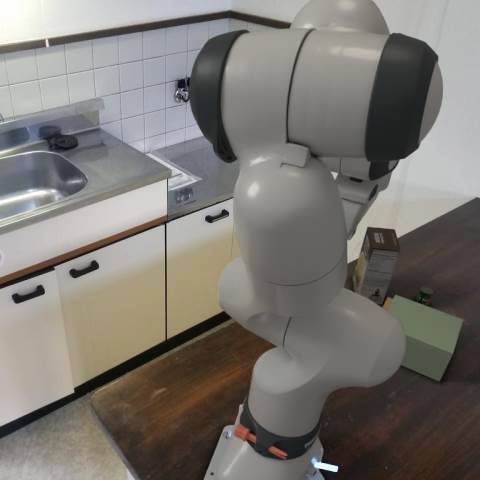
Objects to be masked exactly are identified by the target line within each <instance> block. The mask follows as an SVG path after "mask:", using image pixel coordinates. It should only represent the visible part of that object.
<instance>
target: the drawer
mask: <svg viewBox="0 0 480 480" xmlns="http://www.w3.org/2000/svg"><path fill="white" fill-rule="evenodd" d="M392 300H393V298H392V297H389V296H387V298H386V299H385V302H384V304H383V306H382V308H383V309H385V310H386V311H387V310H388V308H389V306H390V304H391V302H392Z"/></svg>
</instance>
